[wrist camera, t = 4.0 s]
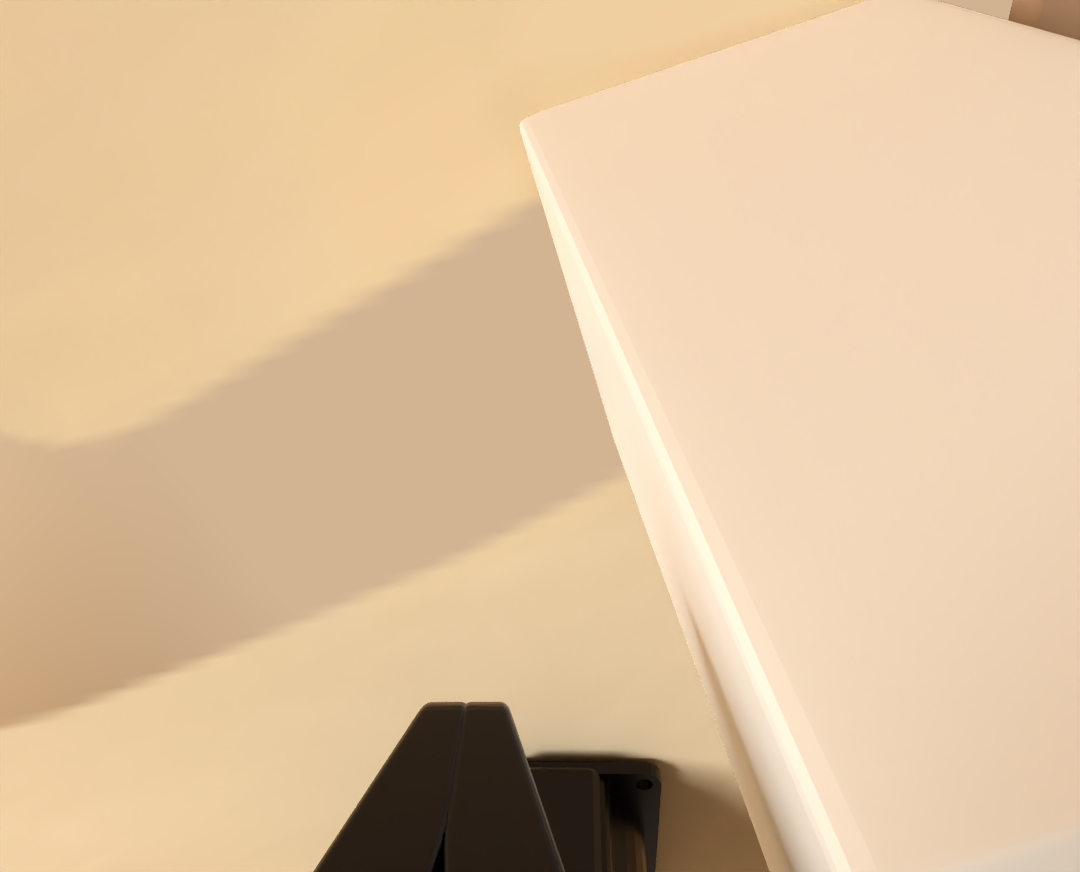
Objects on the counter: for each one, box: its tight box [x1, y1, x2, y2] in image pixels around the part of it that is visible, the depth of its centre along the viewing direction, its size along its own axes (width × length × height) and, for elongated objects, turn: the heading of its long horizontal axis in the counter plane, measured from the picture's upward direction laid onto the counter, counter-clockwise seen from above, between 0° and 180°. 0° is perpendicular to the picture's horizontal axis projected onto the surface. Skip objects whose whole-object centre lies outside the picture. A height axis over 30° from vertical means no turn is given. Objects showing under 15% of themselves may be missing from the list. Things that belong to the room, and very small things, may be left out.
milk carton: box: [520, 0, 1080, 872], centre depth 11 cm, size 7×7×19 cm
